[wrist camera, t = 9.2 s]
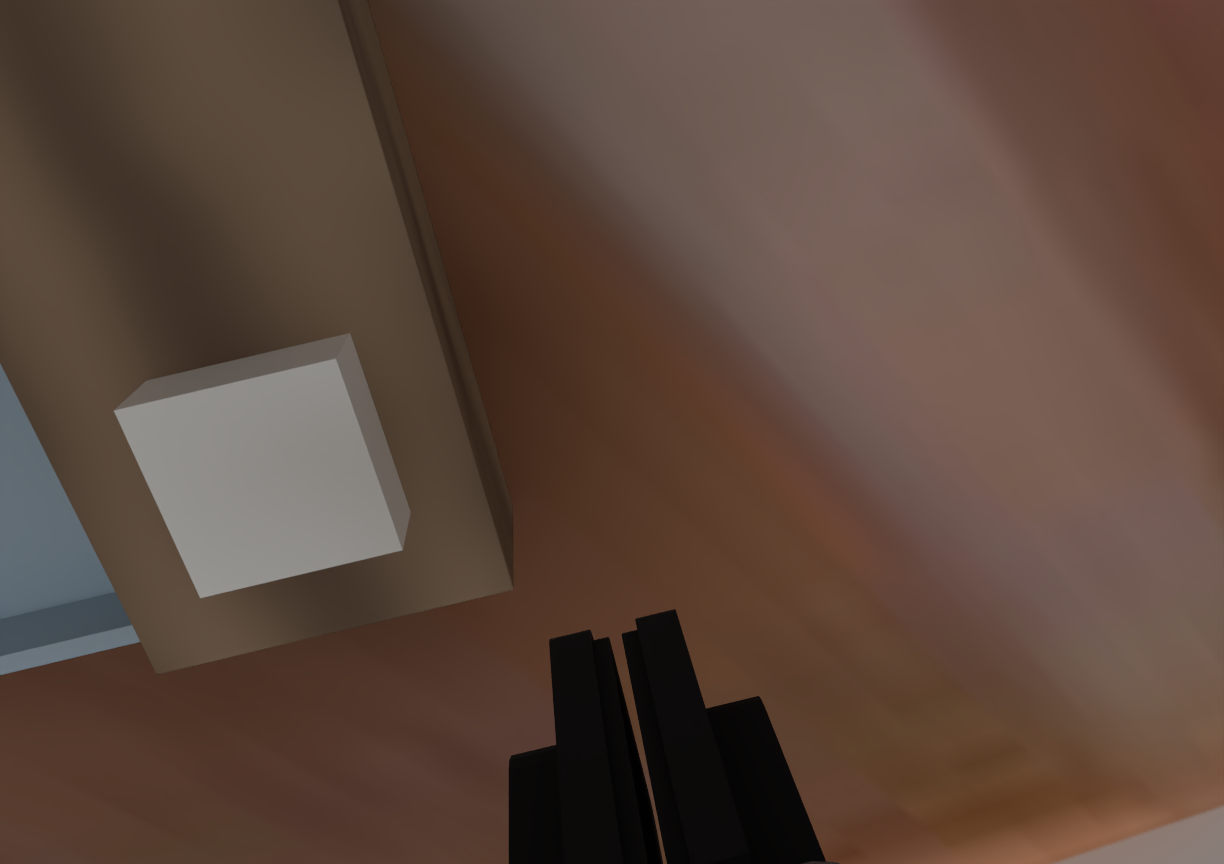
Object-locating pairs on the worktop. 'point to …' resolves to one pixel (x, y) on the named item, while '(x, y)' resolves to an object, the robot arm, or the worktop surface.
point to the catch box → (46, 559)
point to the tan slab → (231, 286)
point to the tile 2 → (268, 465)
